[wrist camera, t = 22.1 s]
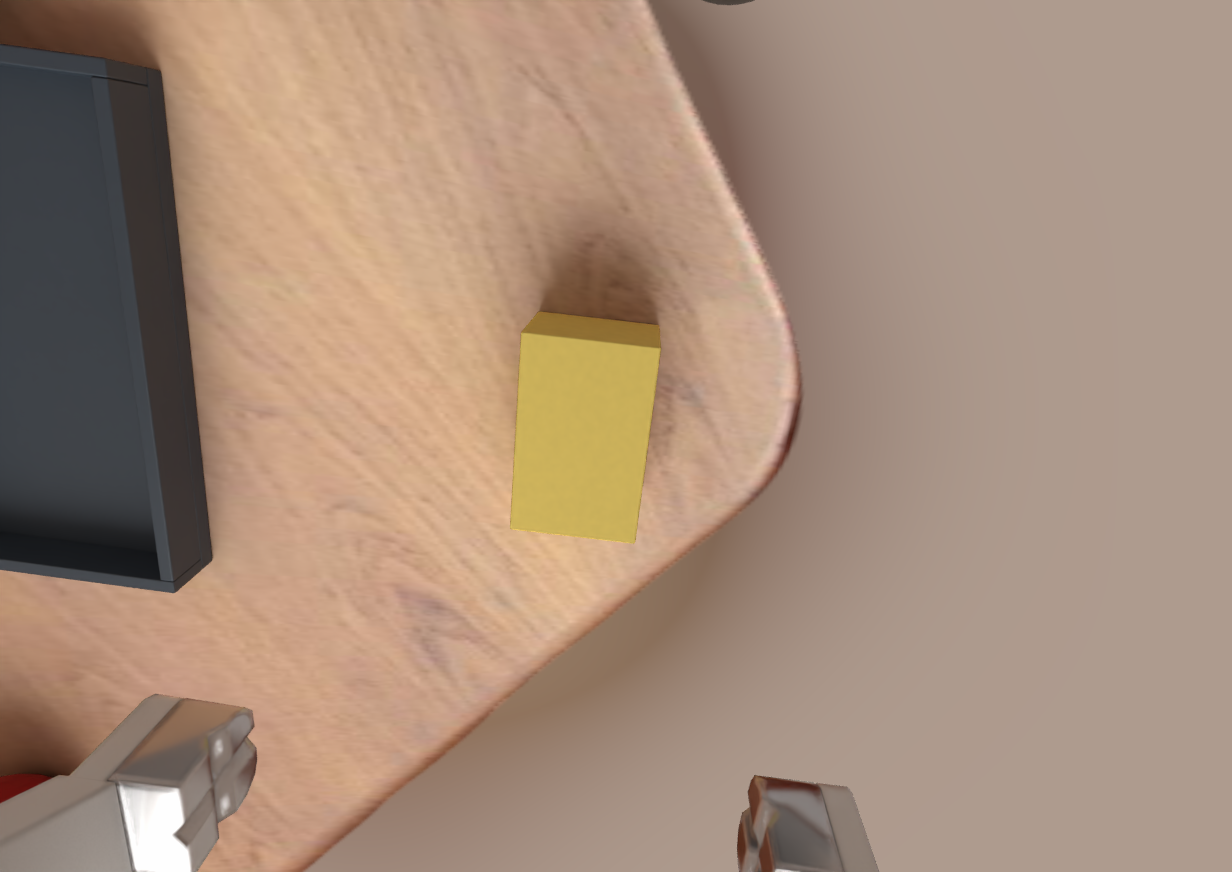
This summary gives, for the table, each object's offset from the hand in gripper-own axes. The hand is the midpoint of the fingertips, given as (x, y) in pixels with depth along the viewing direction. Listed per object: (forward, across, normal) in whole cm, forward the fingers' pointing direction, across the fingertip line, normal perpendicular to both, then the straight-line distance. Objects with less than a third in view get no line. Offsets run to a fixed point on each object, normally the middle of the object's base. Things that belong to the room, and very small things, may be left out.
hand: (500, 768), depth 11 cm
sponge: (+19, 0, 0) cm, 19 cm away
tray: (+19, +24, 0) cm, 30 cm away
